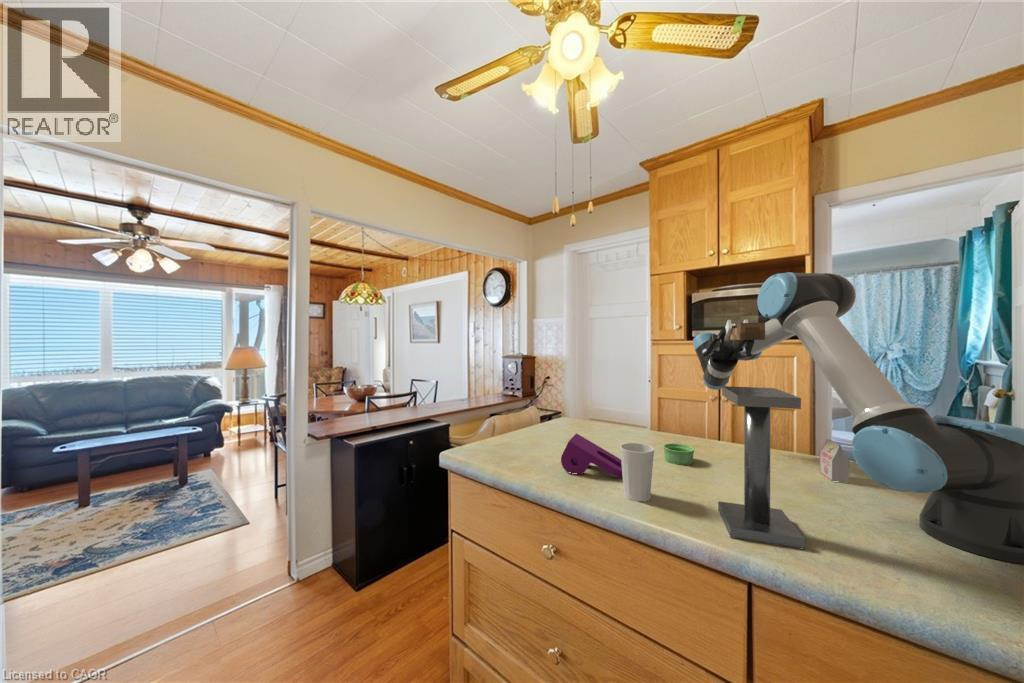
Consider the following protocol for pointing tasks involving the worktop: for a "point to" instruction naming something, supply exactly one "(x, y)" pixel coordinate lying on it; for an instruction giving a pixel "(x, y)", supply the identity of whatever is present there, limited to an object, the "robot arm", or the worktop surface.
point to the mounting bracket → (589, 457)
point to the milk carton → (834, 462)
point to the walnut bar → (748, 331)
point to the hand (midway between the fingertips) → (738, 323)
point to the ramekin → (678, 453)
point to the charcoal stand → (759, 471)
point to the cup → (637, 470)
